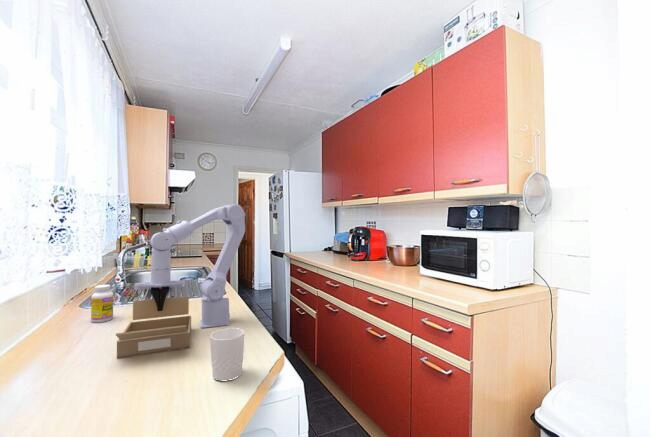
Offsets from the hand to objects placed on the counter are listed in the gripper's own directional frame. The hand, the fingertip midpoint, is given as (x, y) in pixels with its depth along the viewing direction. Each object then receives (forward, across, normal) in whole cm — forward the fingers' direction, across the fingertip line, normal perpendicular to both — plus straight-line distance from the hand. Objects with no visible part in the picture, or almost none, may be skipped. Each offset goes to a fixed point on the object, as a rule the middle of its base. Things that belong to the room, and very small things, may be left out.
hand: (160, 310), depth 100 cm
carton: (+8, 0, -7) cm, 10 cm away
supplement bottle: (+8, -22, +24) cm, 33 cm away
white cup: (+8, +18, -36) cm, 41 cm away
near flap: (+1, 0, -18) cm, 18 cm away
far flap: (0, 0, +1) cm, 1 cm away
